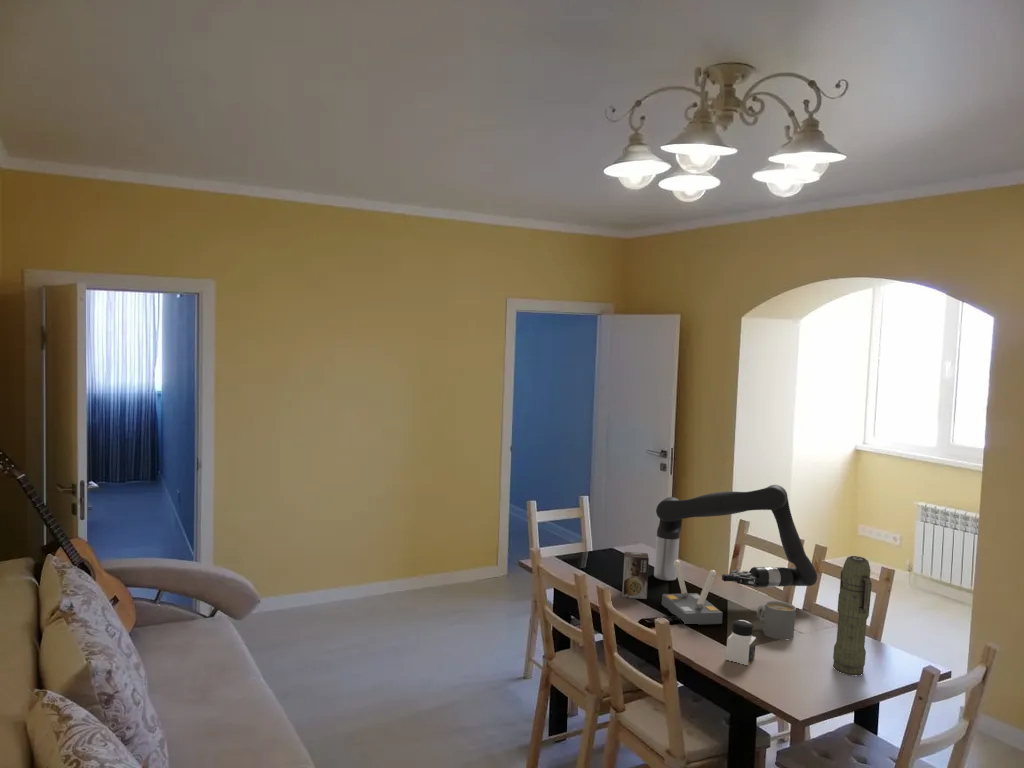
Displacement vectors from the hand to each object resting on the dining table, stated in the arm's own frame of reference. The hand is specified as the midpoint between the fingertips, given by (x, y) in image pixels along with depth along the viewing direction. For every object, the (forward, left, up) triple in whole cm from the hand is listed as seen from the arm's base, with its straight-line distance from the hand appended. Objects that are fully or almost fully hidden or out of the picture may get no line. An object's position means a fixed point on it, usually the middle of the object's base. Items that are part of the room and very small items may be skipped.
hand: (722, 577), depth 288 cm
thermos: (+55, +14, -11) cm, 58 cm away
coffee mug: (+25, +7, -11) cm, 28 cm away
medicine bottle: (+45, -17, -11) cm, 49 cm away
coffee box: (-14, -29, -11) cm, 34 cm away
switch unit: (+6, -15, -11) cm, 20 cm away
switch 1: (0, -15, -6) cm, 16 cm away
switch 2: (+12, -15, -6) cm, 20 cm away
